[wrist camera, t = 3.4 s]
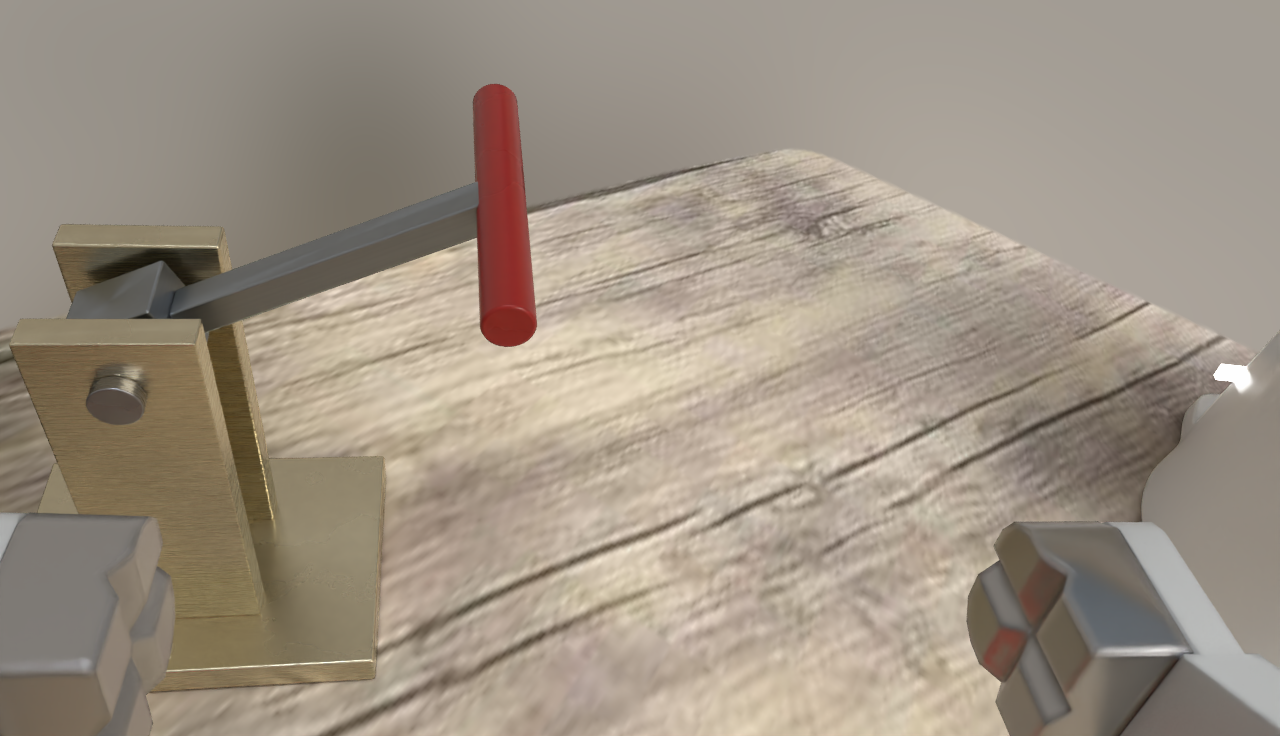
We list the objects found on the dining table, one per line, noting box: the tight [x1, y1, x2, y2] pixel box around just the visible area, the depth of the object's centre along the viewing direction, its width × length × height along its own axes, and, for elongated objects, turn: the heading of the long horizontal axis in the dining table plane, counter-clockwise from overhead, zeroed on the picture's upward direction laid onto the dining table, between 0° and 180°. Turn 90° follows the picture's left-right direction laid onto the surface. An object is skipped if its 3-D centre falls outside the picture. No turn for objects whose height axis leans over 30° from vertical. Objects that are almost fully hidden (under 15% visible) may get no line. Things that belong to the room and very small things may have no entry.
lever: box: [66, 84, 537, 347], centre depth 29 cm, size 13×10×2 cm
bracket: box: [9, 224, 386, 692], centre depth 33 cm, size 12×9×14 cm
